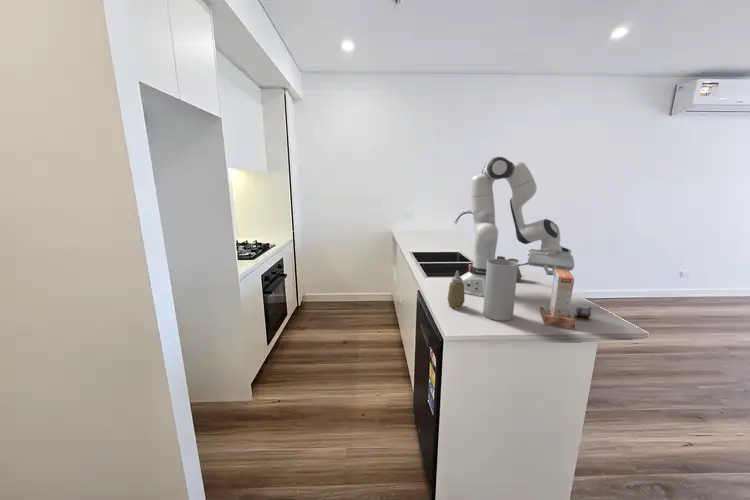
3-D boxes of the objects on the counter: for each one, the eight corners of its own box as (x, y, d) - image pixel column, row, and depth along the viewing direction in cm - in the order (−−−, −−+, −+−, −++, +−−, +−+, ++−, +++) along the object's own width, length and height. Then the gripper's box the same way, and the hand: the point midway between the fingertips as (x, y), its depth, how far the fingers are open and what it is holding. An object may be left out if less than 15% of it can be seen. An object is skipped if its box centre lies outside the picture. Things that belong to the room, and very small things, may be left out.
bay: (544, 324, 128) (545, 316, 127) (539, 310, 143) (540, 302, 142) (574, 329, 124) (576, 320, 123) (566, 314, 139) (567, 305, 138)
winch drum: (576, 319, 133) (578, 307, 132) (574, 315, 137) (576, 304, 136) (591, 321, 131) (593, 309, 130) (588, 317, 135) (590, 305, 134)
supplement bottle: (506, 276, 197) (507, 258, 194) (494, 275, 198) (496, 257, 195) (503, 273, 203) (505, 255, 201) (493, 272, 204) (494, 255, 202)
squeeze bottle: (452, 302, 153) (454, 267, 149) (467, 306, 147) (469, 271, 144) (443, 306, 148) (445, 271, 144) (458, 311, 142) (460, 274, 138)
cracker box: (568, 326, 127) (575, 278, 123) (551, 323, 130) (557, 276, 125) (563, 313, 139) (569, 269, 135) (548, 311, 142) (554, 268, 138)
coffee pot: (497, 279, 190) (499, 256, 187) (506, 276, 197) (508, 253, 194) (533, 288, 174) (536, 262, 171) (541, 283, 182) (544, 259, 179)
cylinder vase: (477, 311, 141) (481, 259, 136) (500, 308, 145) (504, 258, 140) (494, 323, 130) (499, 266, 124) (519, 319, 133) (524, 264, 128)
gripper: (529, 245, 157) (527, 268, 150) (574, 250, 150) (575, 274, 143) (526, 252, 162) (525, 274, 155) (571, 257, 155) (571, 280, 148)
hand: (550, 274), depth 149 cm, fingers closed
